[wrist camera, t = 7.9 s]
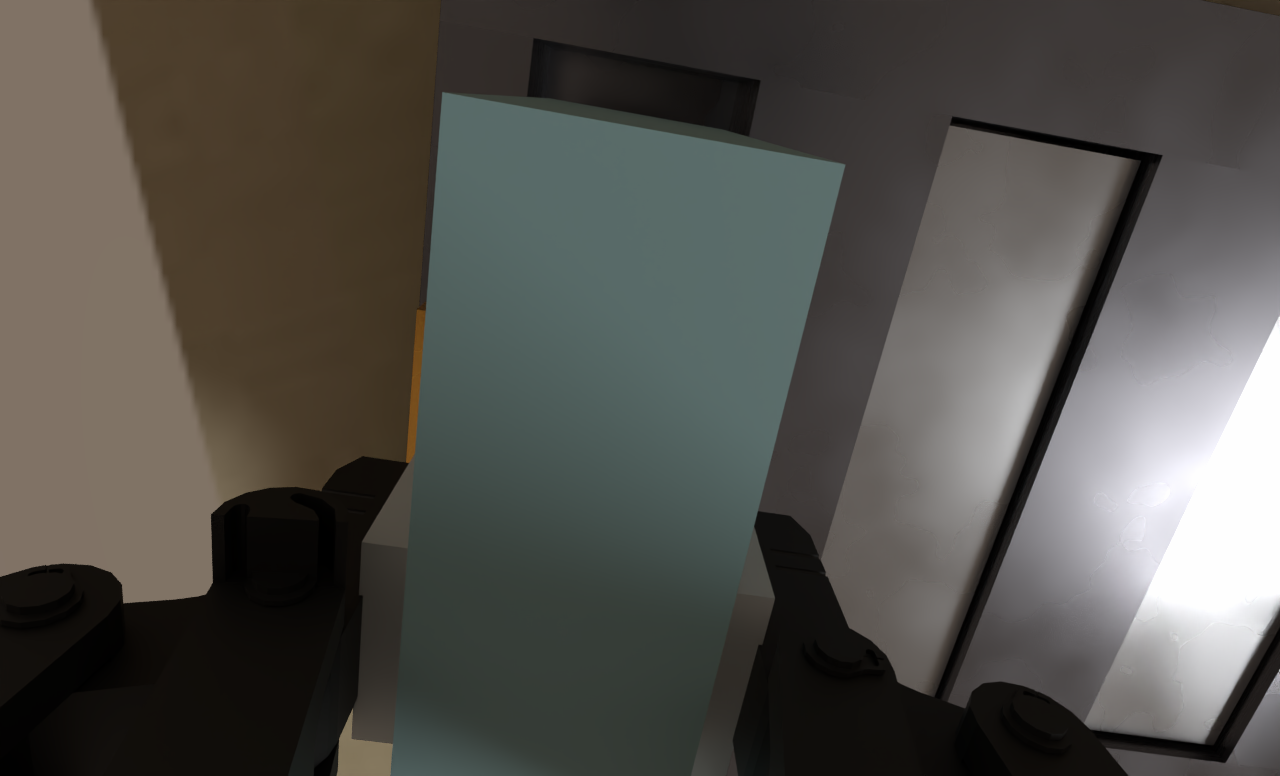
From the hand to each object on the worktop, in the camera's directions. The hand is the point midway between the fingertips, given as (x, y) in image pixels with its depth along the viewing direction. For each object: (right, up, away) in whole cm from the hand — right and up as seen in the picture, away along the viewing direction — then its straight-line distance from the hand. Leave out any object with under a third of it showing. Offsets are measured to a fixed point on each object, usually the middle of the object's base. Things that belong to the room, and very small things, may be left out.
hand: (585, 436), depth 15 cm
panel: (0, 0, 0) cm, 0 cm away
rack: (+7, +1, +5) cm, 9 cm away
